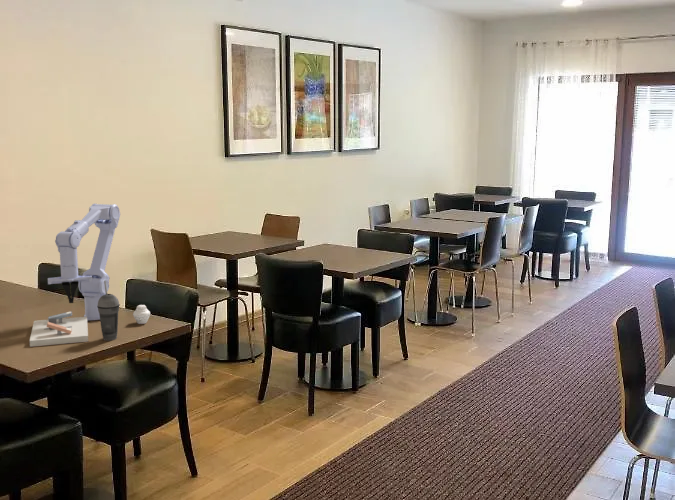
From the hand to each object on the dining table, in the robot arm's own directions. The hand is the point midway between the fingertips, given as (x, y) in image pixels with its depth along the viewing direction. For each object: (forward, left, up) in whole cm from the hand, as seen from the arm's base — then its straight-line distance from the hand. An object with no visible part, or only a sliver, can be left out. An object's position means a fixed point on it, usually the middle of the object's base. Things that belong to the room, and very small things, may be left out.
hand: (71, 302), depth 246 cm
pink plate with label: (+4, +14, -5) cm, 15 cm away
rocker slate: (+4, -2, -5) cm, 7 cm away
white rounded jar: (-24, +1, -10) cm, 26 cm away
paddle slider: (+6, +6, -7) cm, 11 cm away
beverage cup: (-12, +18, -10) cm, 24 cm away
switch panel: (+4, +6, -9) cm, 12 cm away
